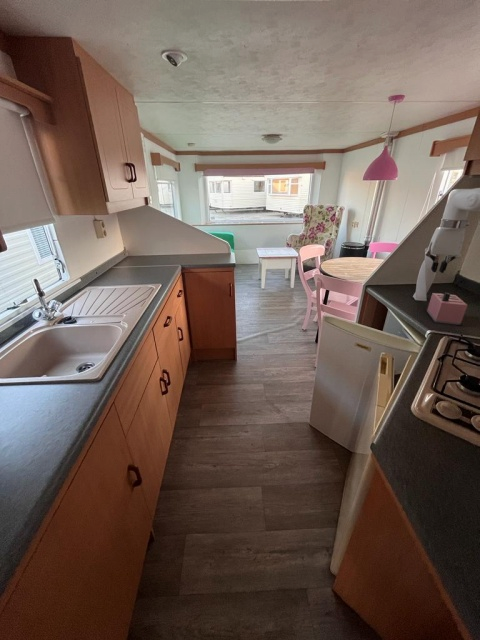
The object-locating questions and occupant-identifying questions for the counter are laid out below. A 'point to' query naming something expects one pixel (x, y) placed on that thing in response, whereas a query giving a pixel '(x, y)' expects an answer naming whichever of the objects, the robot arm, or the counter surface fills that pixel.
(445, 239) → the robot arm
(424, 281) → the skyscraper
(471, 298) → the counter surface
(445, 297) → the slider
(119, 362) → the counter surface
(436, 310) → the toaster
